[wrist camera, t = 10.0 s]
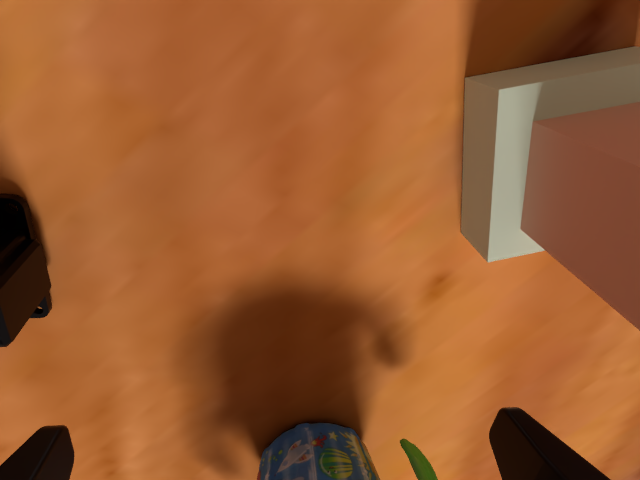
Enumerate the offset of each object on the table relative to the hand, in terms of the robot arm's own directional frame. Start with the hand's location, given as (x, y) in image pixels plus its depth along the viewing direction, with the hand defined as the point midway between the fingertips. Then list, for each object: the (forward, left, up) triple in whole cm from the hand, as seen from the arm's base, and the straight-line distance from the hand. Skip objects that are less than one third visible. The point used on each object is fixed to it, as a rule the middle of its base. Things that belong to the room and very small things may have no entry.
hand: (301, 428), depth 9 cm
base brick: (+13, +3, -13) cm, 19 cm away
